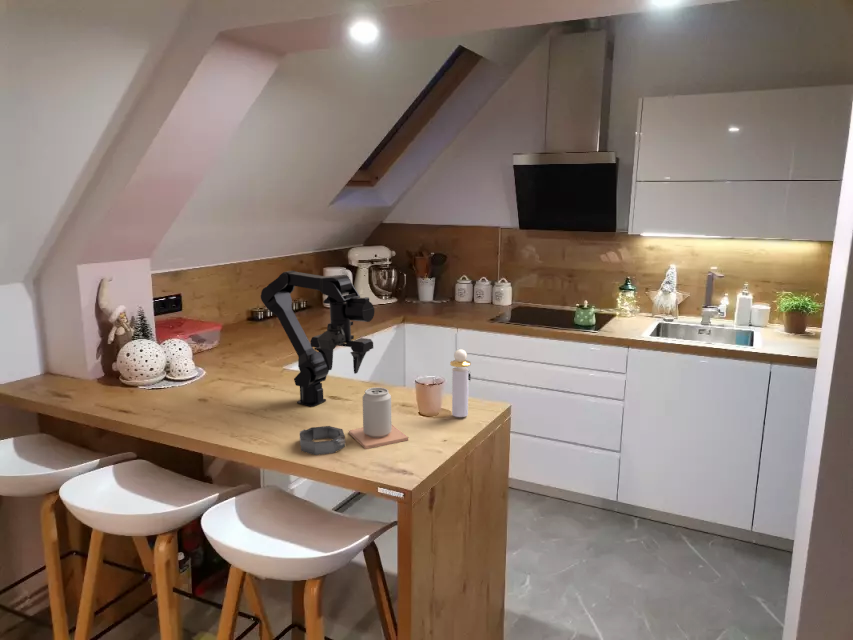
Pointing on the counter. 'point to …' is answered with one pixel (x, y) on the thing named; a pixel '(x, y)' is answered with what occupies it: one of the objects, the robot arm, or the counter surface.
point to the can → (377, 412)
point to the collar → (322, 446)
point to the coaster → (375, 442)
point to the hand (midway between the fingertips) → (342, 371)
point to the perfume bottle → (460, 383)
